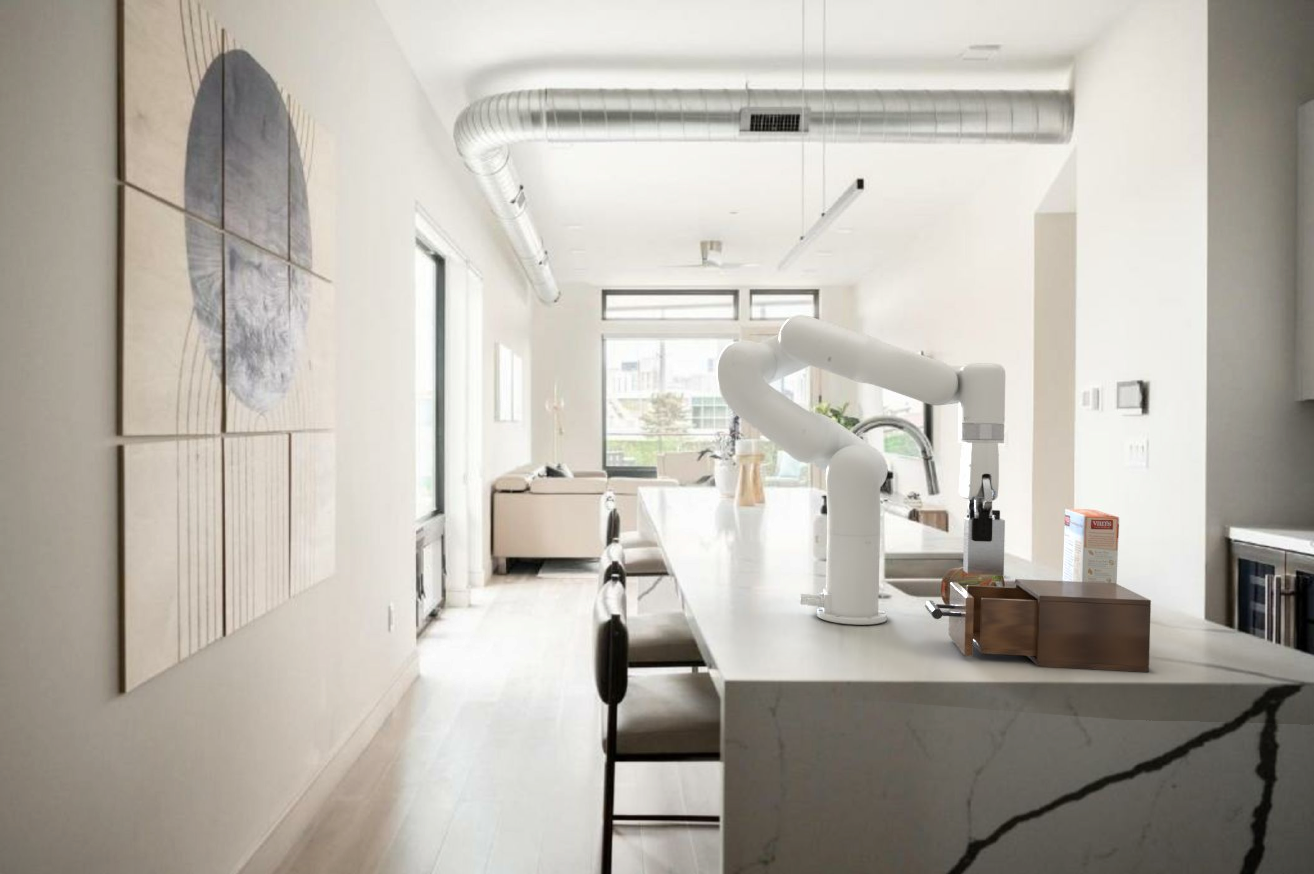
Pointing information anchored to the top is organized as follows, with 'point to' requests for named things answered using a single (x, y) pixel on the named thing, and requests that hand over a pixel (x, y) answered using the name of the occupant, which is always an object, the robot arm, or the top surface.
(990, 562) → the grater
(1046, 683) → the top surface
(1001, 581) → the tin
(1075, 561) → the cracker box
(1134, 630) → the cabinet
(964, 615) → the drawer
